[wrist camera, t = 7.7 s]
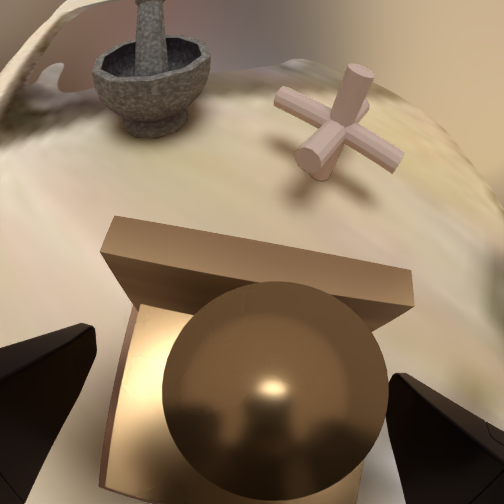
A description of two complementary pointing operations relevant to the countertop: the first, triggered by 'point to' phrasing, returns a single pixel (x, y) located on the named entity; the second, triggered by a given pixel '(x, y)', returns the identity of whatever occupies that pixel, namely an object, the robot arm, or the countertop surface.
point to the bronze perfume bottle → (249, 401)
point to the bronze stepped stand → (232, 280)
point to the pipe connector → (338, 126)
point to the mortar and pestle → (152, 75)
